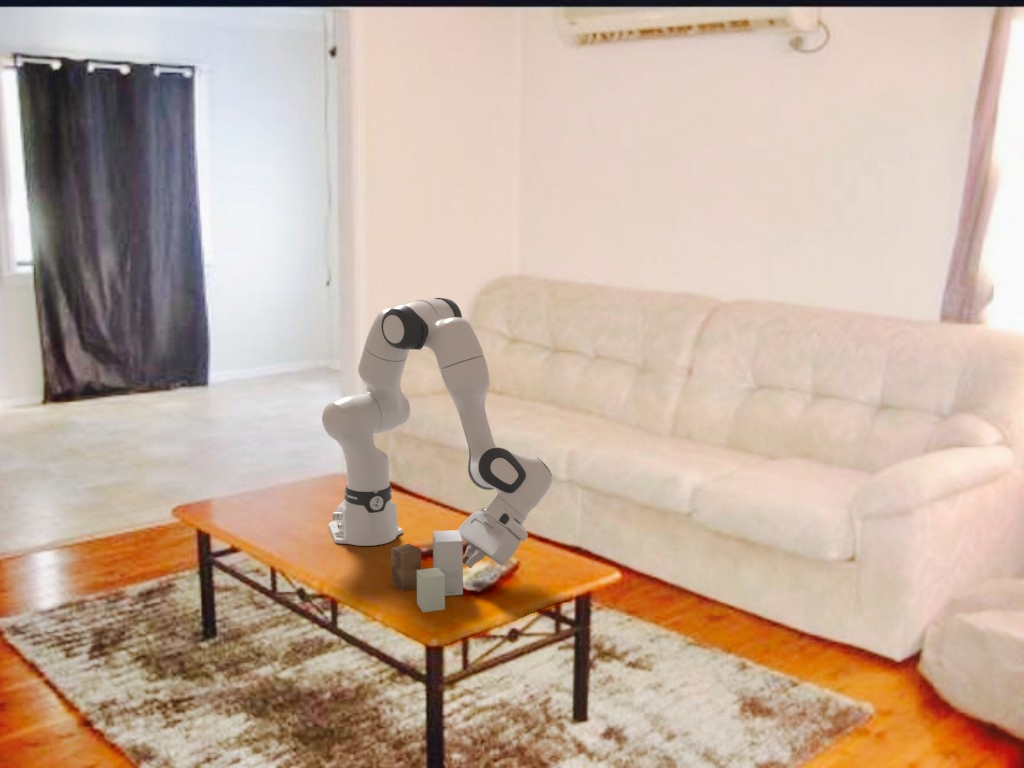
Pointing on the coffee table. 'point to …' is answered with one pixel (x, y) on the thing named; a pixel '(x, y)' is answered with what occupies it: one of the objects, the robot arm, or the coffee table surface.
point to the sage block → (430, 589)
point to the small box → (449, 559)
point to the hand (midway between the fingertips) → (465, 564)
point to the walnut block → (405, 566)
